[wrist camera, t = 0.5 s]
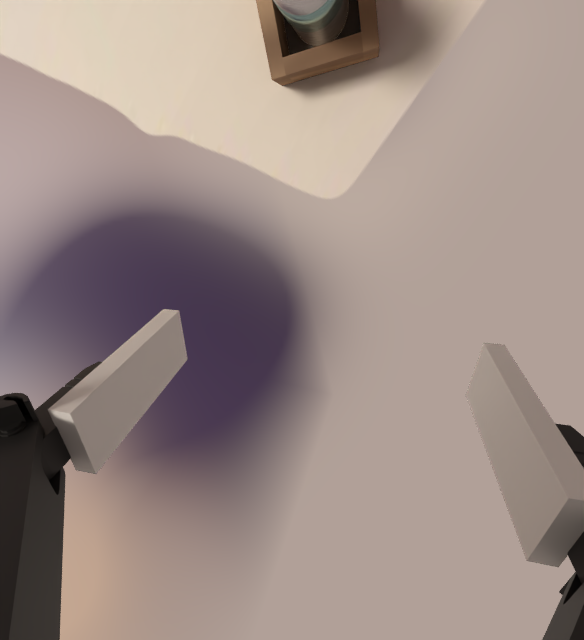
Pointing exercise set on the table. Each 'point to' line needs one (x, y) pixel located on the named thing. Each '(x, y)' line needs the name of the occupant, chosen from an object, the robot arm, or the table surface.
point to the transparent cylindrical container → (315, 18)
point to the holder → (320, 56)
